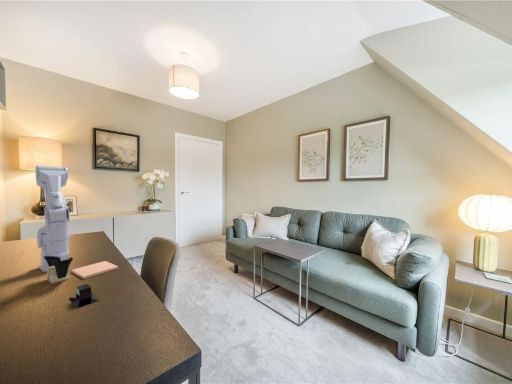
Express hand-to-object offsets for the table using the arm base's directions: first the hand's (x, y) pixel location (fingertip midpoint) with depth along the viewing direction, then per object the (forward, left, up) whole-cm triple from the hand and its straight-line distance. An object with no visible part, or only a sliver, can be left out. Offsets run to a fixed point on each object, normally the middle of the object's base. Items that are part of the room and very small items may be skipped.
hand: (58, 275), depth 78 cm
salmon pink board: (+2, +11, -2) cm, 11 cm away
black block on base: (+25, 0, -2) cm, 25 cm away
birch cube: (0, 0, -2) cm, 2 cm away
